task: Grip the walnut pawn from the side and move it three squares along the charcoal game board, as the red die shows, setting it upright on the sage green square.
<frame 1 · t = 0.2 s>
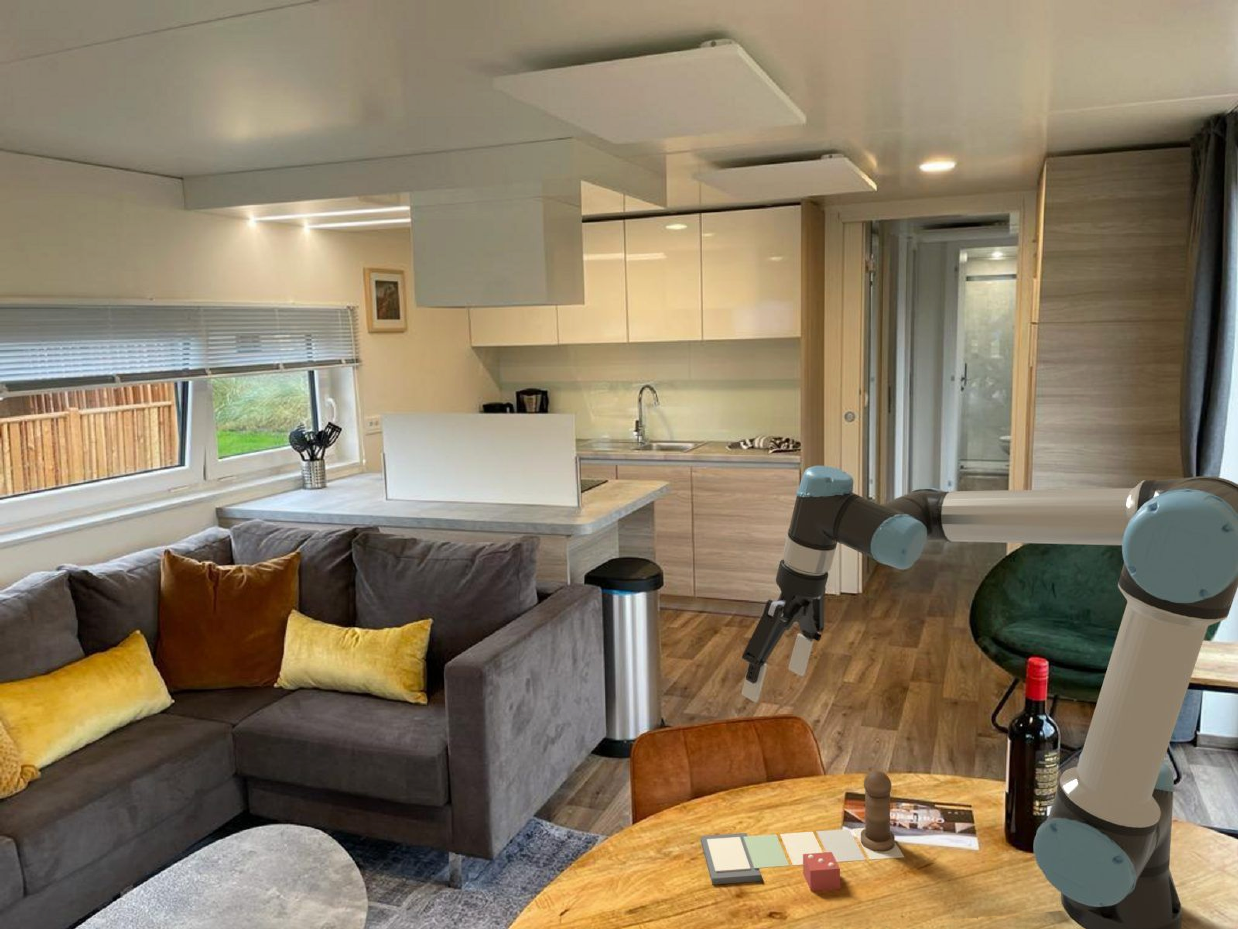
hand: (773, 684, 154), 27 cm above the table, tool tilted 15°, fingers open, 13 cm apart
pawn: (877, 842, 153), point 1 cm above the table, touching game board
red die: (821, 888, 144), on the table
game board: (803, 855, 153), on the table
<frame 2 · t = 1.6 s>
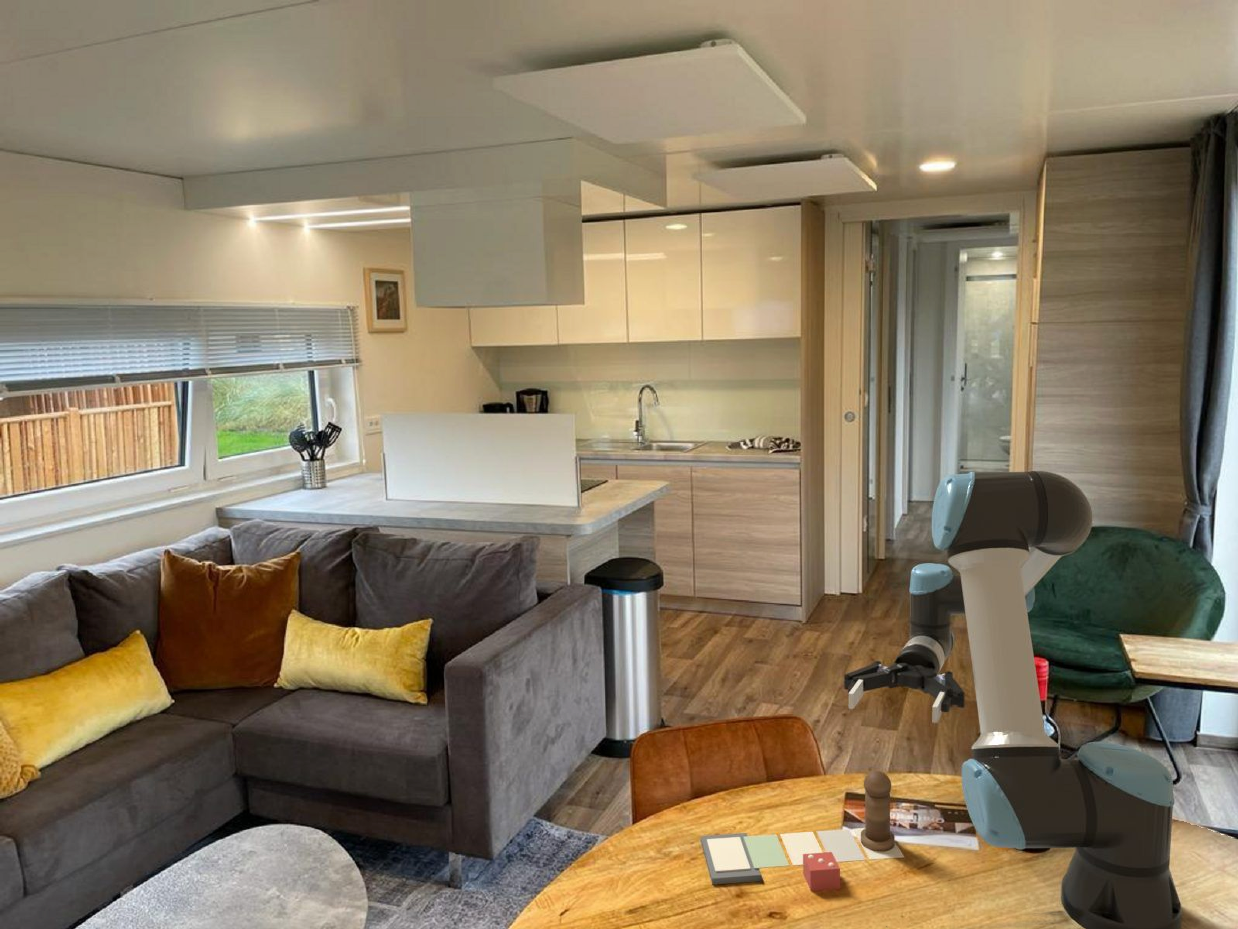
hand: (891, 708, 158), 20 cm above the table, tool horizontal, fingers open, 13 cm apart
nothing on the table moved.
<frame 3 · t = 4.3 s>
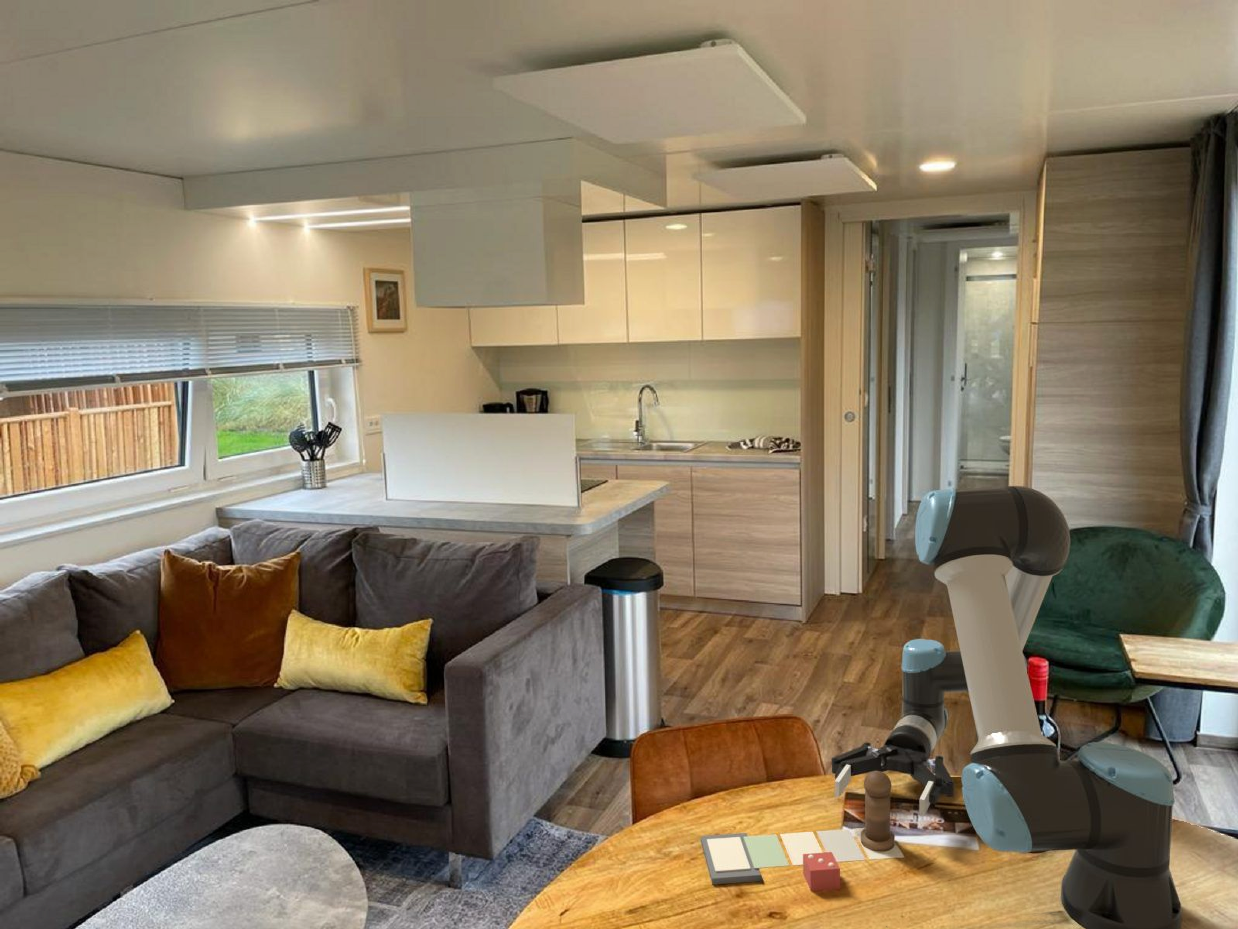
hand: (878, 798, 154), 8 cm above the table, tool horizontal, fingers open, 13 cm apart
nothing on the table moved.
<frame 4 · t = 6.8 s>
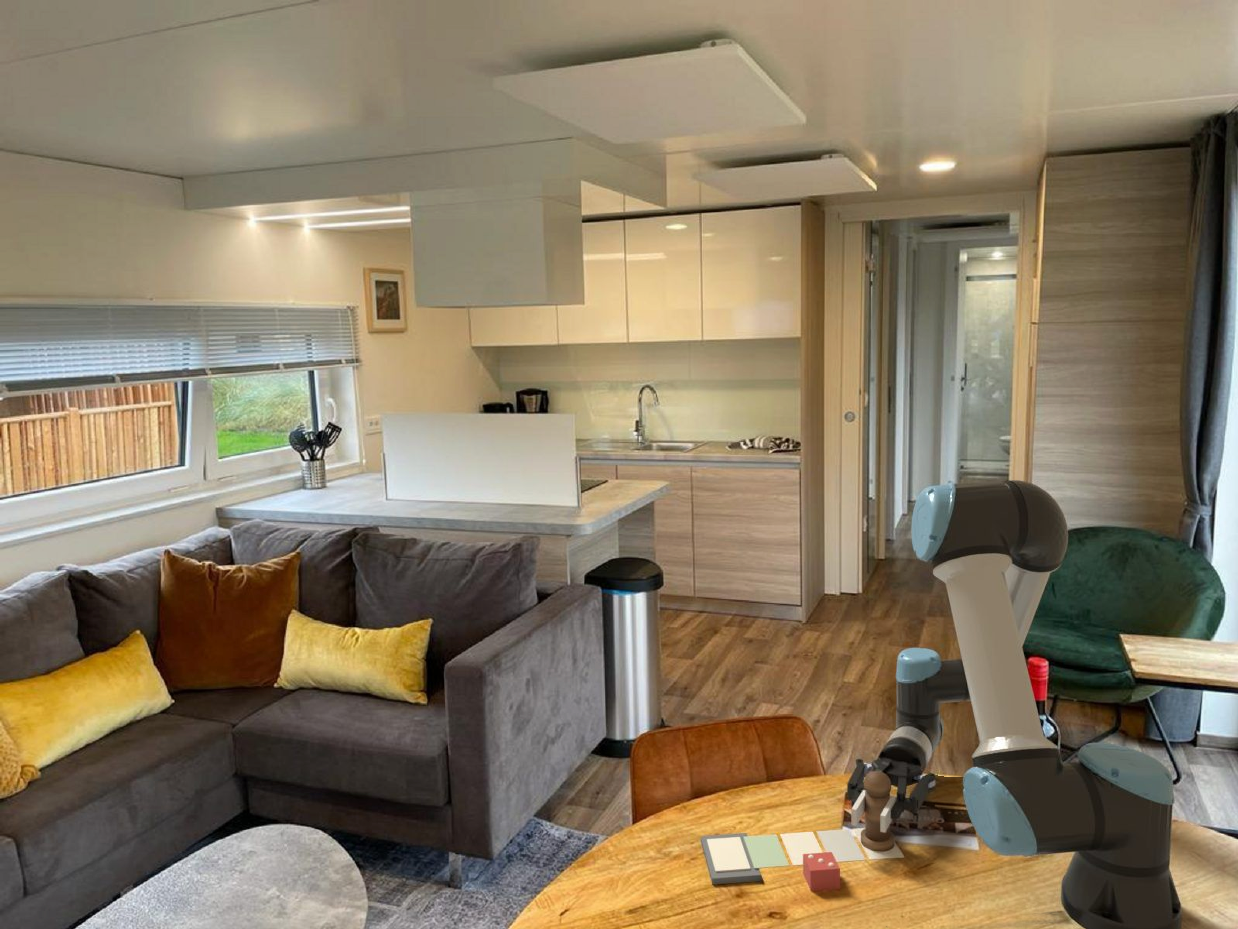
hand: (868, 820, 147), 8 cm above the table, tool horizontal, fingers closed on pawn, 4 cm apart
pawn: (877, 842, 153), point 1 cm above the table, touching game board, gripper
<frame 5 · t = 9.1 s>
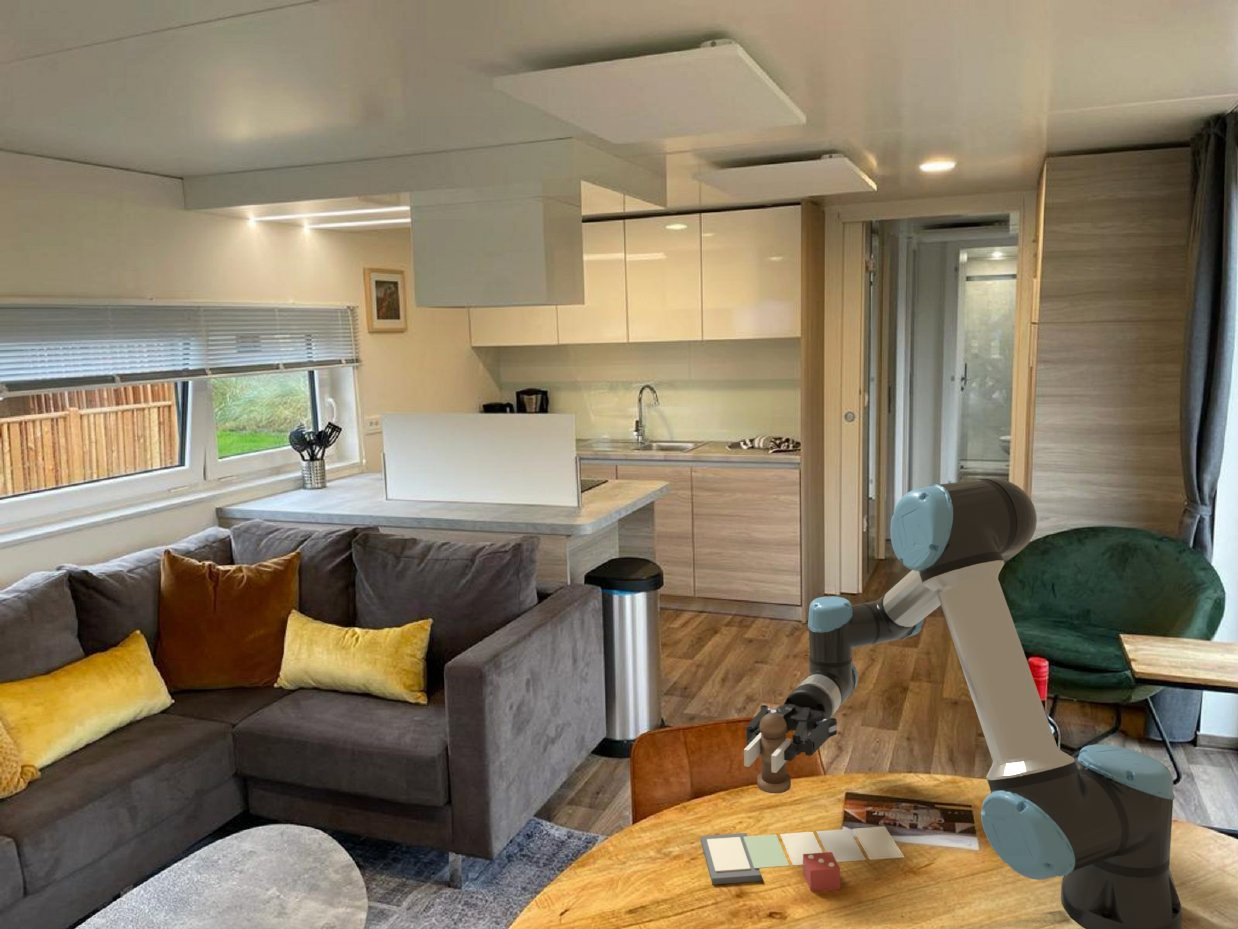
hand: (760, 761, 146), 18 cm above the table, tool horizontal, fingers closed on pawn, 4 cm apart
pawn: (774, 785, 151), point 12 cm above the table, touching gripper
when the fingers open (9 cm above the table, at t = 11.7 s): pawn drops 1 cm, resting on game board.
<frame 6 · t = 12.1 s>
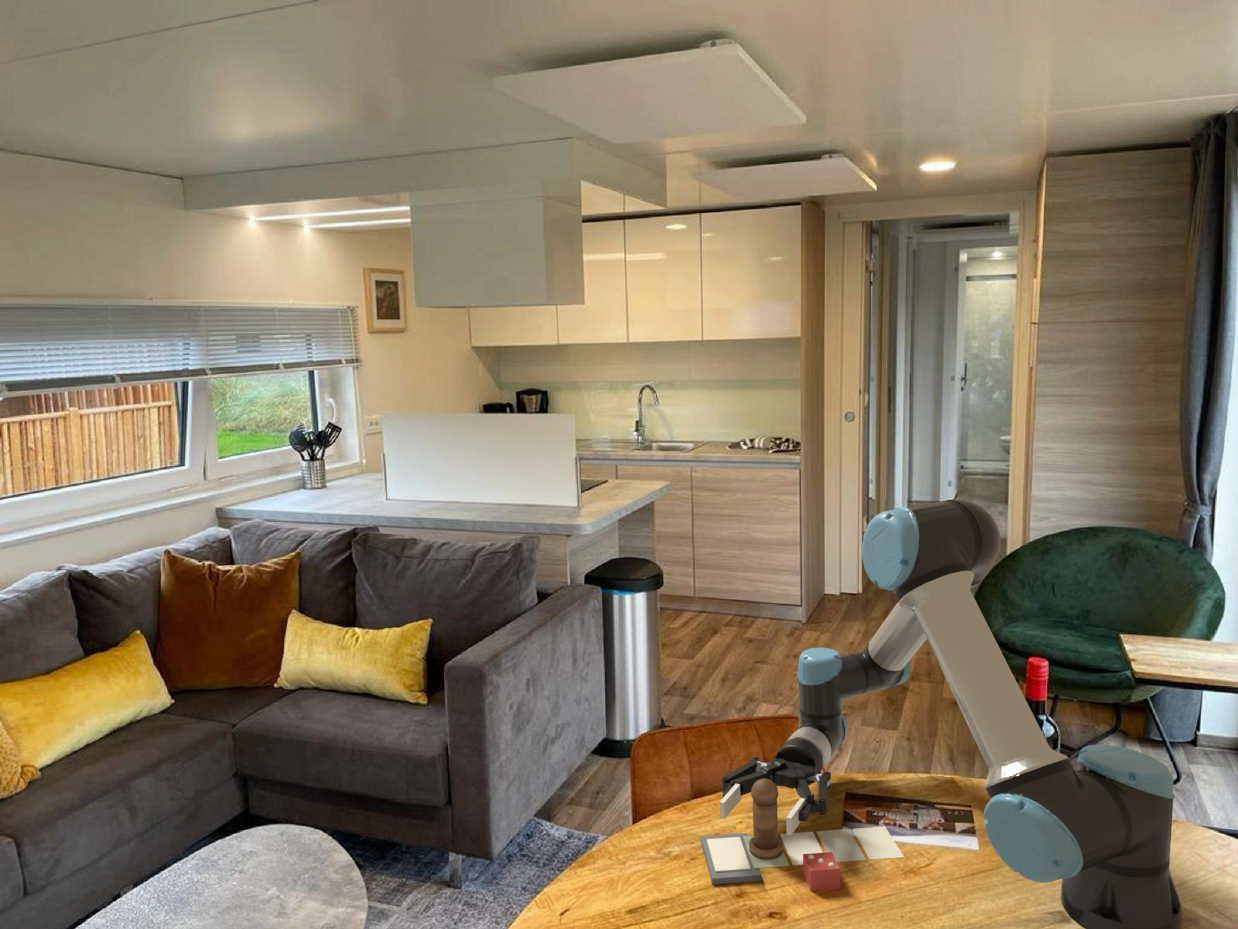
hand: (754, 818, 147), 9 cm above the table, tool horizontal, fingers open, 10 cm apart
pawn: (766, 850, 152), point 1 cm above the table, touching game board
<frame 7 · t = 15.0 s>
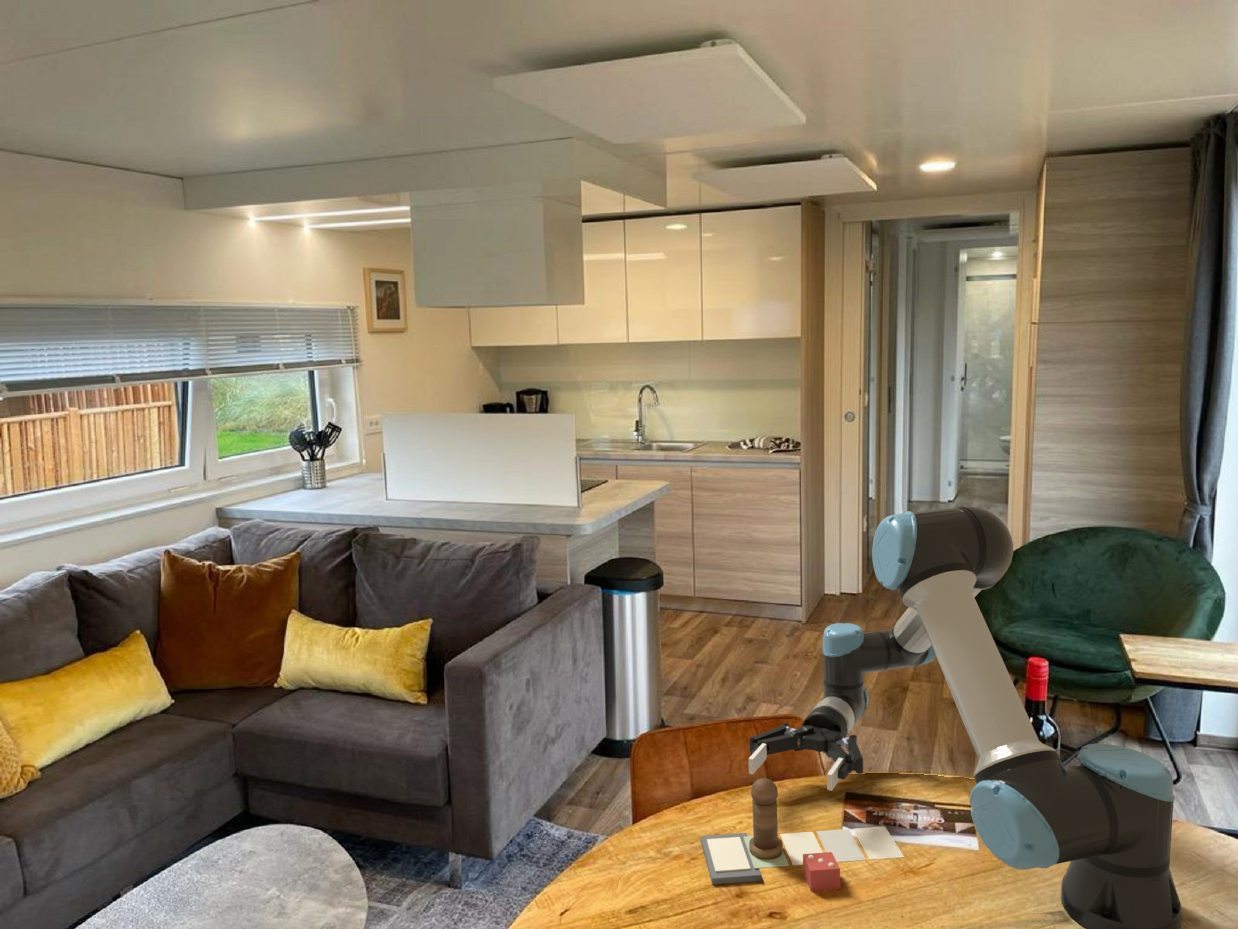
hand: (789, 774, 159), 10 cm above the table, tool horizontal, fingers open, 13 cm apart
nothing on the table moved.
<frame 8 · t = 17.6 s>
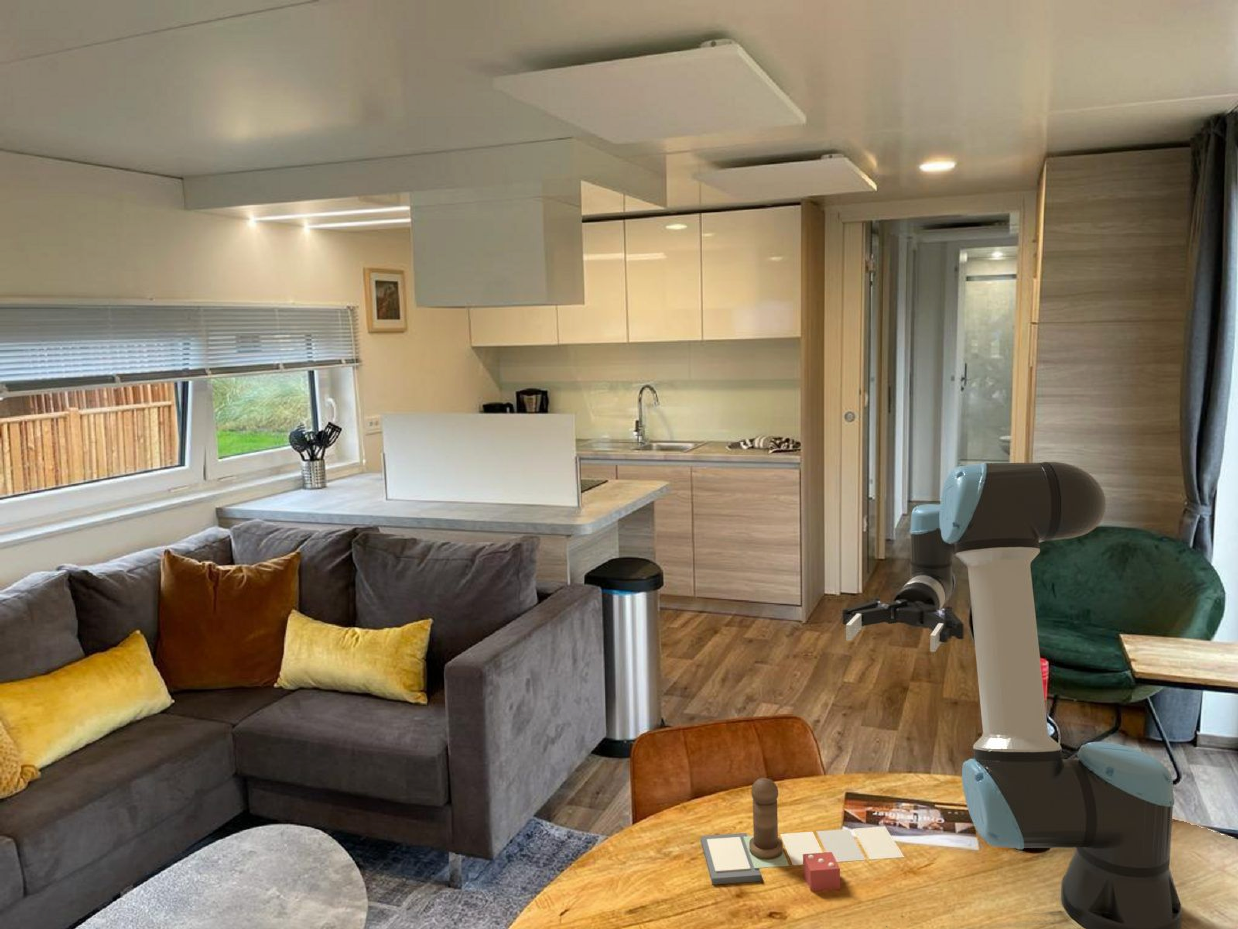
hand: (889, 638, 157), 32 cm above the table, tool horizontal, fingers open, 13 cm apart
nothing on the table moved.
at the end: pawn 0.1 cm from the target spot, point 1.3 cm above the table; pawn tilted 1°; the gripper is holding nothing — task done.
